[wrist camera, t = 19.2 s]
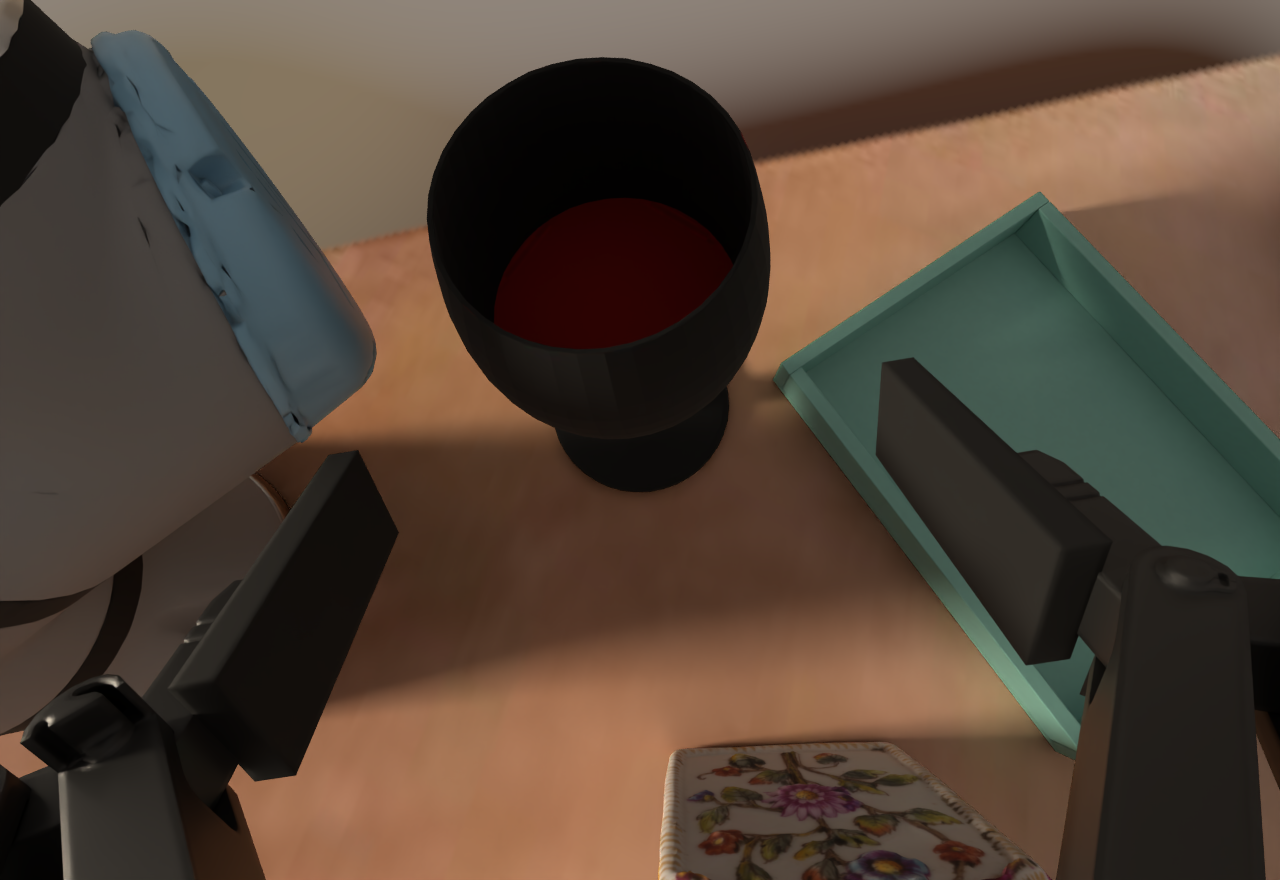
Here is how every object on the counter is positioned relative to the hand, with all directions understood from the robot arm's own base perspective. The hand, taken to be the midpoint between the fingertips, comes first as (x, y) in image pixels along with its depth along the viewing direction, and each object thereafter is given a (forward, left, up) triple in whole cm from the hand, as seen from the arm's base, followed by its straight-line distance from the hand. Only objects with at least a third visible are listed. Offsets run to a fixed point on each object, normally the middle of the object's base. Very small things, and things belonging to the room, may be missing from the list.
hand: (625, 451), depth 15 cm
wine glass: (-6, +3, -19) cm, 20 cm away
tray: (+9, +19, -19) cm, 28 cm away
